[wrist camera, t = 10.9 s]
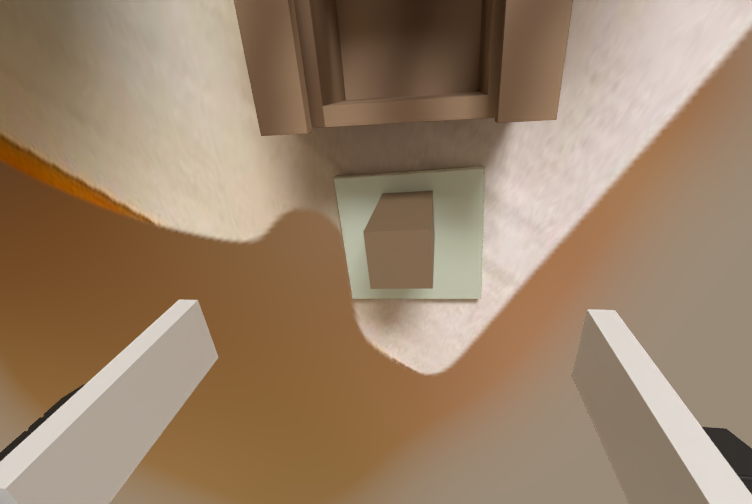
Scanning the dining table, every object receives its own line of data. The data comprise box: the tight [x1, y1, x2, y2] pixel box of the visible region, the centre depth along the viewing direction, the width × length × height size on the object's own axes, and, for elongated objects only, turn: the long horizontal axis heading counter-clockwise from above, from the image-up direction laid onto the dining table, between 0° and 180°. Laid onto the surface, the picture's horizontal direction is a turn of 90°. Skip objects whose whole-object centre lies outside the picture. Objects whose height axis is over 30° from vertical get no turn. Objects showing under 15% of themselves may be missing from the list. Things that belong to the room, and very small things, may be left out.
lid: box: [334, 166, 484, 299], centre depth 24 cm, size 10×10×8 cm
